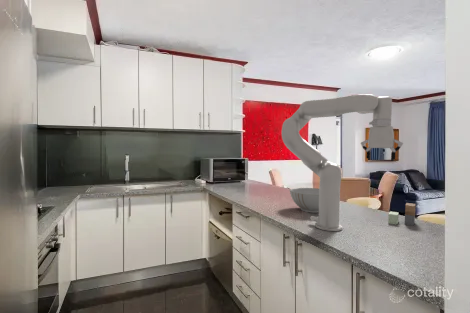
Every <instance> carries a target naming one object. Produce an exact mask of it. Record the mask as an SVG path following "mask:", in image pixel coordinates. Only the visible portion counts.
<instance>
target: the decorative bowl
mask: <svg viewBox="0 0 470 313" xmlns="http://www.w3.org/2000/svg"><path fill="white" fill-rule="evenodd" d="M289 194H290V197H291V200H292V201H293V202H294V203H295V205H296V206H297V207H299V208H300V210H301V211H303V212H306V213H314V214H315V213H319V188H316V187H295V188H290V189H289Z"/></svg>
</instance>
